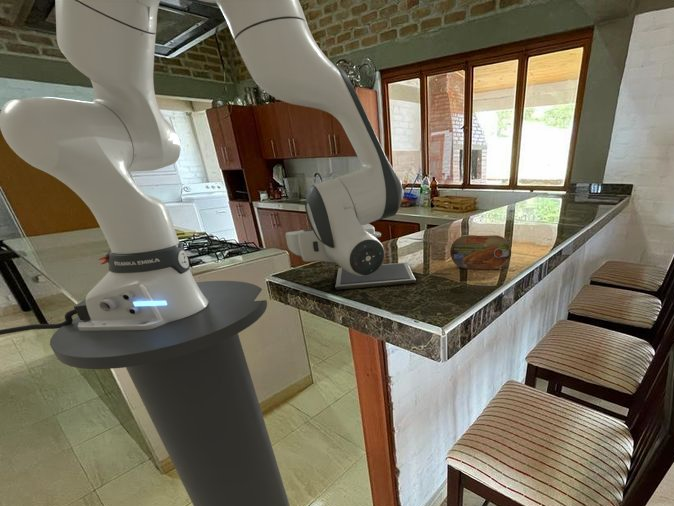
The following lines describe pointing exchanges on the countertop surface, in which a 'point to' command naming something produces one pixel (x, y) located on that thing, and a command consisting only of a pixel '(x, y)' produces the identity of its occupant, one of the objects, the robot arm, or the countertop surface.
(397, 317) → the countertop surface
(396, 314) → the countertop surface
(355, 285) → the tablet
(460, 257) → the tin
